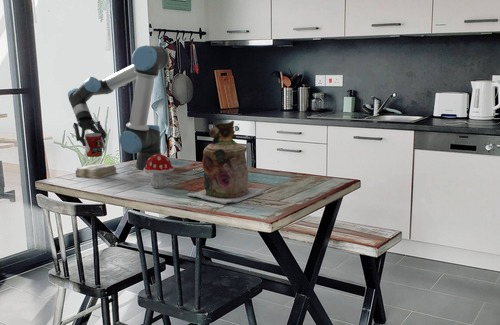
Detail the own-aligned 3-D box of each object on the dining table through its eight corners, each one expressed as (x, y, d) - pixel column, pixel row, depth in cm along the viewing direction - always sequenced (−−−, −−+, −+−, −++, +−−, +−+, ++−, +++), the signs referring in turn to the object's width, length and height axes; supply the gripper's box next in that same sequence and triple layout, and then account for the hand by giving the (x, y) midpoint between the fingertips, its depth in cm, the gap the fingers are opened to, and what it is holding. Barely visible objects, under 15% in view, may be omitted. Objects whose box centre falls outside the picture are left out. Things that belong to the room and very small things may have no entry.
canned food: (93, 157, 264) (91, 135, 262) (83, 156, 269) (81, 134, 267) (105, 155, 270) (104, 133, 268) (95, 153, 275) (94, 132, 273)
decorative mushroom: (157, 182, 252) (155, 150, 249) (181, 185, 246) (179, 153, 243) (137, 188, 240) (135, 155, 237) (162, 191, 234) (161, 158, 231)
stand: (116, 172, 275) (115, 165, 274) (98, 178, 262) (98, 170, 261) (94, 170, 280) (93, 163, 279) (76, 176, 267) (75, 168, 267)
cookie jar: (224, 186, 244) (222, 116, 237) (267, 194, 228) (266, 119, 222) (185, 197, 225) (182, 121, 219) (228, 206, 209) (227, 125, 203)
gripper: (100, 117, 284) (114, 151, 275) (61, 120, 272) (74, 156, 262) (103, 108, 279) (118, 143, 269) (64, 111, 267) (77, 147, 257)
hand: (96, 149), depth 266 cm, fingers closed on canned food, 8 cm apart
